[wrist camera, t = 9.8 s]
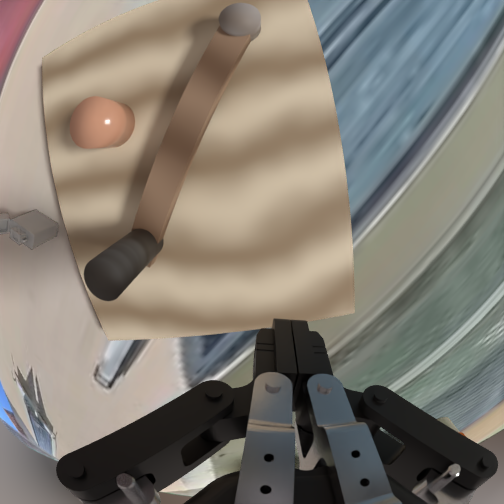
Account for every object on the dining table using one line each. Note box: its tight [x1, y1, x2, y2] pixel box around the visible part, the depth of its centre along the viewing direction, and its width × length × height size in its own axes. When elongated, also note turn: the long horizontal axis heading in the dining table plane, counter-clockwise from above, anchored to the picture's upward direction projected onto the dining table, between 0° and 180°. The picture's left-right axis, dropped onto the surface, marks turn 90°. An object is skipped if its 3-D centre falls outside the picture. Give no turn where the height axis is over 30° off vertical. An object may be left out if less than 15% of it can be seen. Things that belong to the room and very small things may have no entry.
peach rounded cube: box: [70, 96, 135, 149], centre depth 18 cm, size 4×4×4 cm
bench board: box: [42, 0, 355, 340], centre depth 22 cm, size 32×26×2 cm
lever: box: [84, 3, 261, 301], centre depth 16 cm, size 22×3×8 cm, turn 156°
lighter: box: [0, 210, 58, 250], centre depth 21 cm, size 7×2×8 cm, turn 63°
